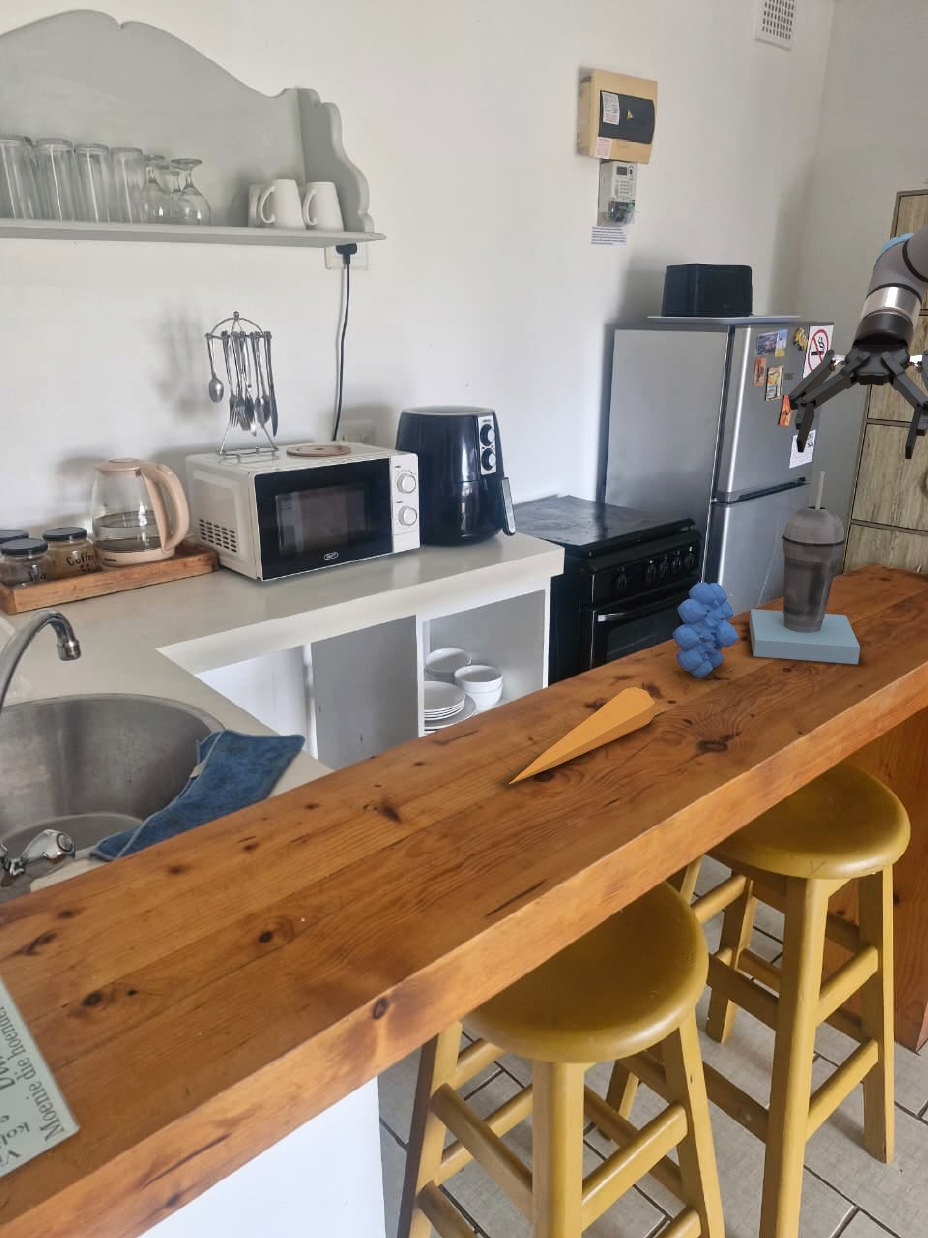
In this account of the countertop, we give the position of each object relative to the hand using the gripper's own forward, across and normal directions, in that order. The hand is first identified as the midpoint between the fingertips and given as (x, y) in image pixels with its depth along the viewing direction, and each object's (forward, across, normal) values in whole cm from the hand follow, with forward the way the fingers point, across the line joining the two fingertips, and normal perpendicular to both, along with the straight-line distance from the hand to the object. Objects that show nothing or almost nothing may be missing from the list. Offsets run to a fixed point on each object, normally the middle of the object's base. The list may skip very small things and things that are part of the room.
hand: (852, 449), depth 117 cm
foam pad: (+28, +1, -4) cm, 28 cm away
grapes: (+40, +7, +7) cm, 41 cm away
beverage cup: (+26, +1, -3) cm, 26 cm away
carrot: (+57, +13, +24) cm, 63 cm away
